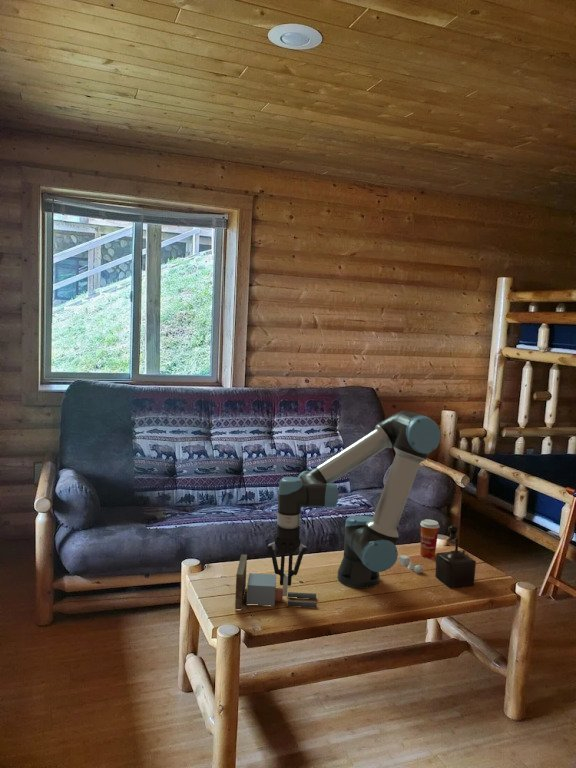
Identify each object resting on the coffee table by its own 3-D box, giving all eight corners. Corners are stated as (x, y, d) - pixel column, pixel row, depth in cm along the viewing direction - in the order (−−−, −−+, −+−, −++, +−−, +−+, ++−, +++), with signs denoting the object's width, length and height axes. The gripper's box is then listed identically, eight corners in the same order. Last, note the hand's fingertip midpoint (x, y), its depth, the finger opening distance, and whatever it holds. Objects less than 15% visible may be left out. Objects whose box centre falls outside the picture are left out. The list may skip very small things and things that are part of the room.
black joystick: (476, 586, 213) (480, 538, 211) (450, 589, 209) (454, 540, 208) (451, 568, 228) (455, 523, 226) (426, 571, 224) (430, 525, 222)
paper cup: (414, 555, 239) (416, 521, 238) (423, 550, 245) (425, 517, 243) (432, 560, 234) (434, 526, 233) (440, 555, 240) (443, 522, 238)
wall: (245, 588, 202) (247, 554, 201) (241, 610, 186) (242, 574, 185) (239, 588, 202) (241, 554, 201) (234, 610, 186) (236, 574, 185)
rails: (315, 598, 197) (316, 593, 197) (316, 607, 191) (316, 603, 191) (287, 596, 198) (287, 592, 197) (287, 606, 191) (287, 601, 191)
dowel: (282, 598, 196) (283, 586, 196) (282, 603, 192) (282, 591, 192) (252, 597, 196) (253, 585, 196) (251, 601, 192) (252, 589, 192)
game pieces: (397, 563, 231) (398, 555, 230) (404, 562, 232) (405, 554, 232) (417, 575, 220) (417, 567, 220) (424, 574, 221) (424, 566, 221)
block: (275, 593, 199) (276, 574, 198) (274, 606, 190) (275, 586, 189) (248, 592, 199) (249, 573, 198) (246, 605, 190) (247, 585, 189)
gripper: (267, 527, 188) (264, 598, 190) (308, 529, 188) (304, 600, 190) (268, 520, 195) (265, 588, 198) (308, 522, 195) (304, 590, 198)
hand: (284, 594), depth 194 cm, fingers closed
